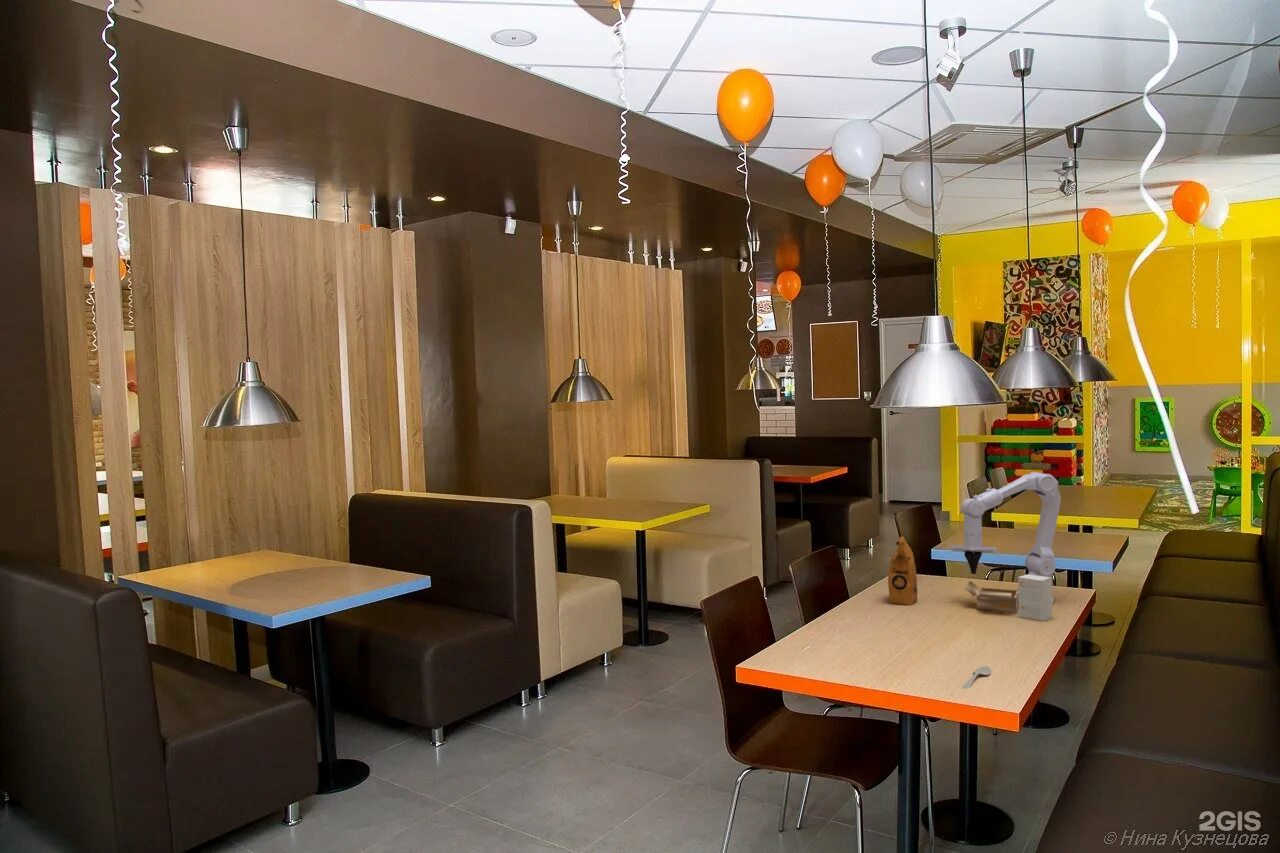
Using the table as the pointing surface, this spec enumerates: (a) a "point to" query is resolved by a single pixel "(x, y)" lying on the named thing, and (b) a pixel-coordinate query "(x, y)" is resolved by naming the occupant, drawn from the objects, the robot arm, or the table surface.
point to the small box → (1035, 597)
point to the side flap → (972, 588)
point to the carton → (998, 602)
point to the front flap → (996, 595)
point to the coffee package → (902, 575)
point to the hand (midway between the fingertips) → (973, 573)
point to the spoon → (977, 672)
